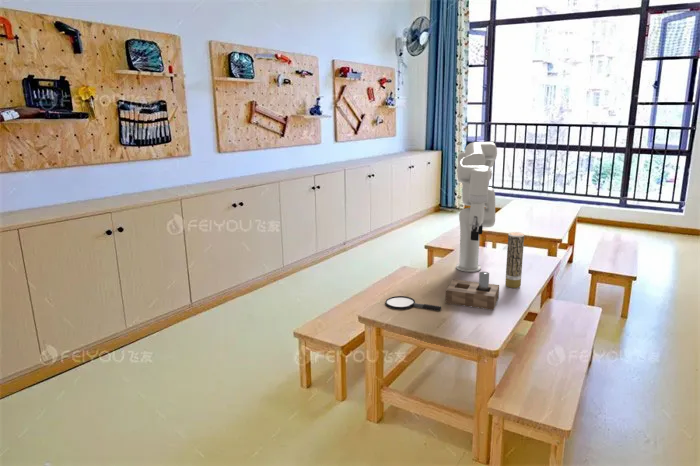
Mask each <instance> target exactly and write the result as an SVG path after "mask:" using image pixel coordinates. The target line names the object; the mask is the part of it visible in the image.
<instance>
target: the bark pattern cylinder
mask: <svg viewBox="0 0 700 466" xmlns="http://www.w3.org/2000/svg"><path fill="white" fill-rule="evenodd" d="M507 235H508V236H507V252H506V264H505V265H506V268H505V282H504V283H505V286H506V287H507V288H510V289H519V288H520V287H521V285H522V274H523V272H522V271H523V258H524V243H525V234H524V233H523V232H519V231H518V232H517V231H511V232H509V233H508V234H507Z"/></svg>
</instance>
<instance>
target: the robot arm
mask: <svg viewBox="0 0 700 466" xmlns="http://www.w3.org/2000/svg"><path fill="white" fill-rule="evenodd" d="M457 155H458V156H457V166H456V175H457V180H458V181H459V182H460V183H462V185H461V186H462V187H461V188H462V194H461V195H462V196H461V197H462V203H463V204H464V205H465V206H470V207H467V208H463V209H461V210H460V211H459V214H458V218H459V221H458V222H459V229H460V231H459V233H460V234H459V235H460V237H459V263H457V264H456V265H455V267H456V270H458V271H462V272H466V273H474V272H480V271H481V270H482V266H481V265H480V264H479V256H480V255H479V254H480V253H479V252H480V235H482V234H483V228H492V227H494V225H495V224H496V223H495V222H496V191H495V190H494V188H493V187H490V186H489V181H490V180H491V179H492V174H493V172H492V169H491V168H492V167H493V166H494V164H495V162H496V159H497V156H498V149H497V145H496V144H495V143H494V142H491V141H473V142H470V143H468V144H467V145H466V147H465V148H464V151H461V152H460V153H459V154H457Z"/></svg>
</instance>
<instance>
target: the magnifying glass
mask: <svg viewBox="0 0 700 466" xmlns="http://www.w3.org/2000/svg"><path fill="white" fill-rule="evenodd" d="M385 305H386V307H387V308H389V309H393V310H398V311H402V310H409V309H412V308H419V309H423V310H424V309H425V310H430V311H435V312H437V311H438V312H441V311H442V306H440V305H435V304H434V305H433V304H427V303H426V304H425V303H418V302H416V300H415V299H414V298H412V297H410V296H405V295H394V296H390V297H389V298H387V299H386V300H385Z"/></svg>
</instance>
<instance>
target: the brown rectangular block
mask: <svg viewBox="0 0 700 466" xmlns="http://www.w3.org/2000/svg"><path fill="white" fill-rule="evenodd" d="M499 294H500V285H499V284H494V283H489V287H488V292H485V291H479V281H470V280H463V279H461V280H460V279H456V278H455V279H452V280H451V282H450V284H449V285H448V286H447V287H446V289H445V304H448V305H449V304H450V305H457V306H462V305H465V306H464V307H469V306H472V307H471V308H476V307H479V308H478V309H483V308H484V310H491V311H494V310H495V307H496V306H497V302H498V300H499V297H500V295H499Z"/></svg>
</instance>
